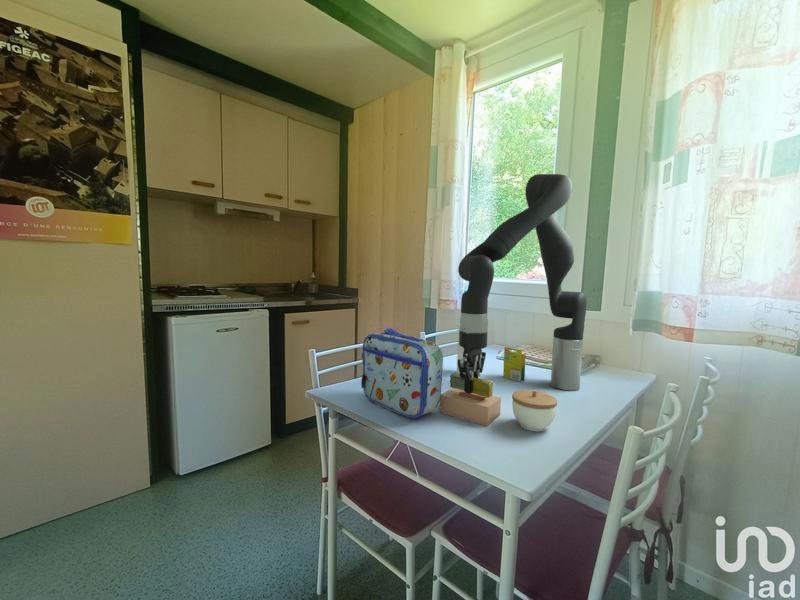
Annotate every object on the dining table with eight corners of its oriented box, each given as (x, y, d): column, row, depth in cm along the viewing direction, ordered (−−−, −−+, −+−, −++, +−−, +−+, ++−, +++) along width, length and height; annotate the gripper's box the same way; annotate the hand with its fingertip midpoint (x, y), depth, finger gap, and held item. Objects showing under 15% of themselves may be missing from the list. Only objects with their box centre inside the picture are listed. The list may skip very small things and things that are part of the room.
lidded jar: (503, 425, 90) (504, 390, 90) (522, 414, 98) (524, 381, 97) (544, 440, 83) (546, 401, 82) (562, 426, 90) (564, 391, 89)
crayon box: (524, 380, 128) (526, 349, 127) (520, 382, 126) (522, 350, 125) (507, 375, 134) (508, 345, 133) (502, 377, 132) (504, 346, 131)
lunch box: (353, 398, 107) (354, 326, 106) (379, 390, 115) (380, 323, 113) (420, 428, 88) (422, 341, 86) (445, 416, 95) (448, 336, 93)
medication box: (449, 387, 100) (449, 373, 99) (454, 385, 102) (454, 372, 102) (488, 398, 92) (489, 383, 92) (493, 395, 94) (493, 381, 94)
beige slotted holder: (454, 402, 105) (455, 386, 105) (500, 414, 97) (501, 397, 96) (439, 412, 98) (440, 394, 97) (487, 426, 90) (488, 407, 89)
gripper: (471, 324, 103) (469, 382, 105) (448, 331, 92) (446, 395, 93) (496, 327, 99) (493, 387, 100) (475, 334, 88) (473, 401, 89)
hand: (471, 390), depth 97 cm, fingers closed on medication box, 3 cm apart
